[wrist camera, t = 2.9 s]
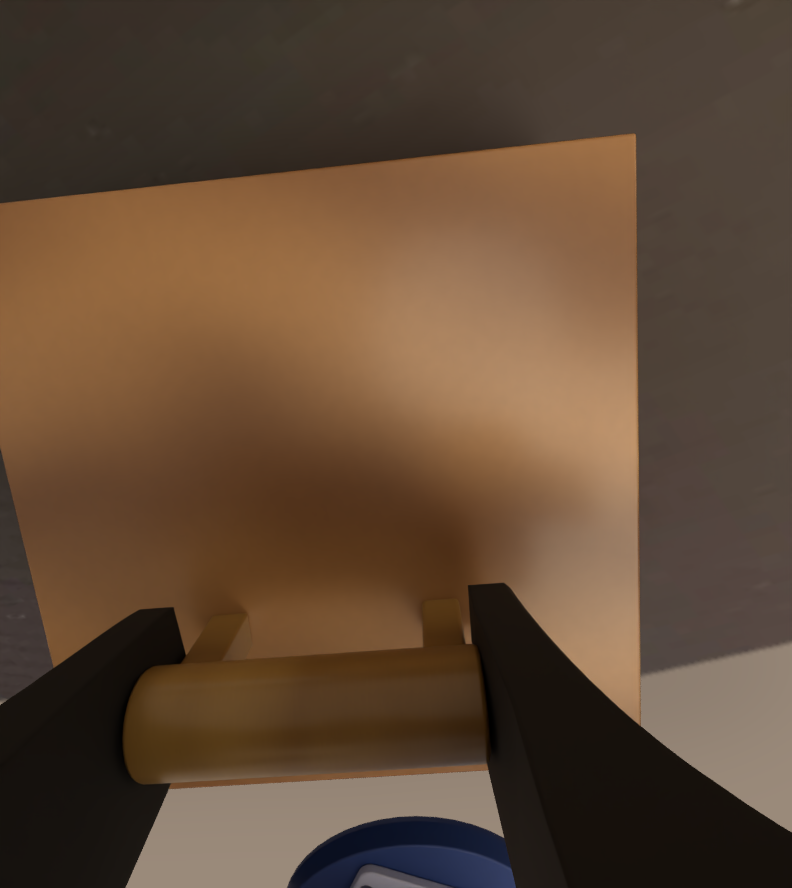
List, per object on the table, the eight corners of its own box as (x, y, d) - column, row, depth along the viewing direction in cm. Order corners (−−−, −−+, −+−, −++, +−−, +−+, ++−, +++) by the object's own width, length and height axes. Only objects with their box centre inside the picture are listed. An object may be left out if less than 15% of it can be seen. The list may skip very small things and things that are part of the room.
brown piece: (630, 740, 12) (732, 940, 8) (98, 773, 13) (-40, 974, 9) (624, 142, 10) (762, 30, 6) (-33, 215, 10) (-301, 154, 6)
